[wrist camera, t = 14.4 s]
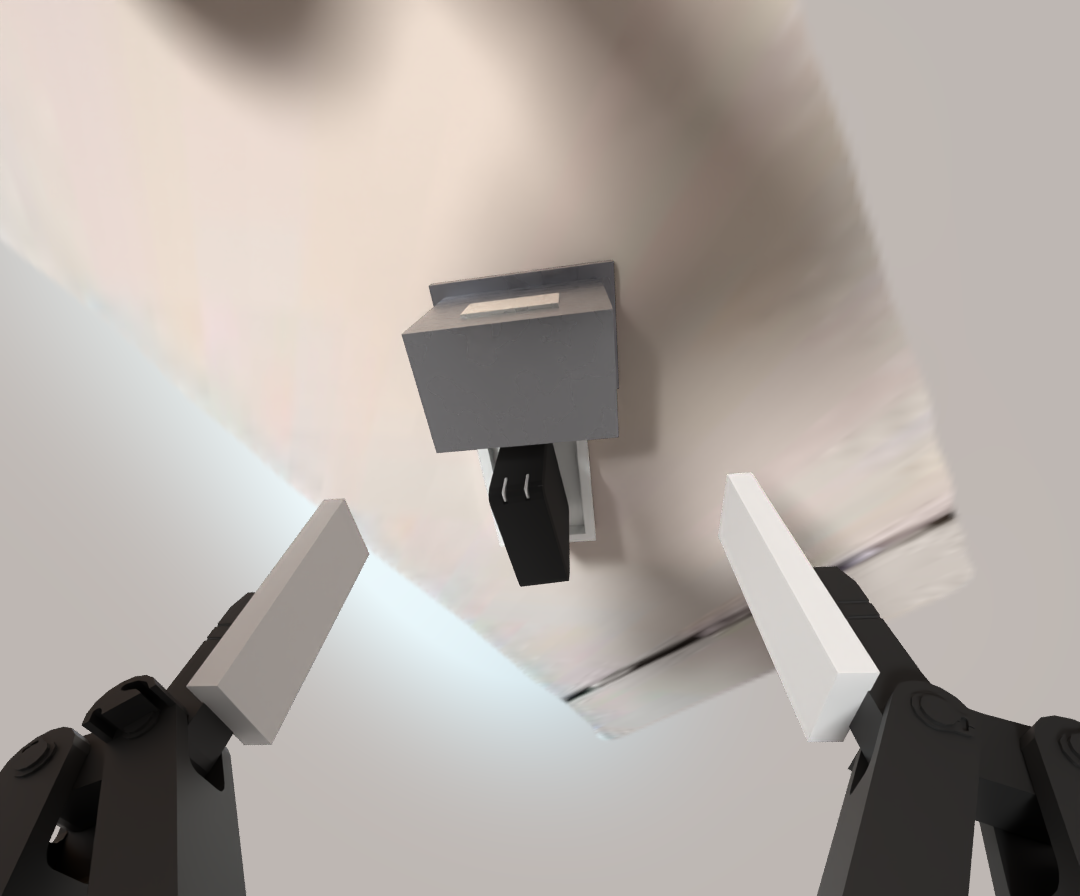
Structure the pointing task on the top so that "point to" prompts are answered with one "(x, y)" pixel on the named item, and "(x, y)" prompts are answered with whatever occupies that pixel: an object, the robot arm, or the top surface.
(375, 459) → the top surface
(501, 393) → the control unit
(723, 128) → the top surface
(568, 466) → the tray
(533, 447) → the electronic device
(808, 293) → the top surface
